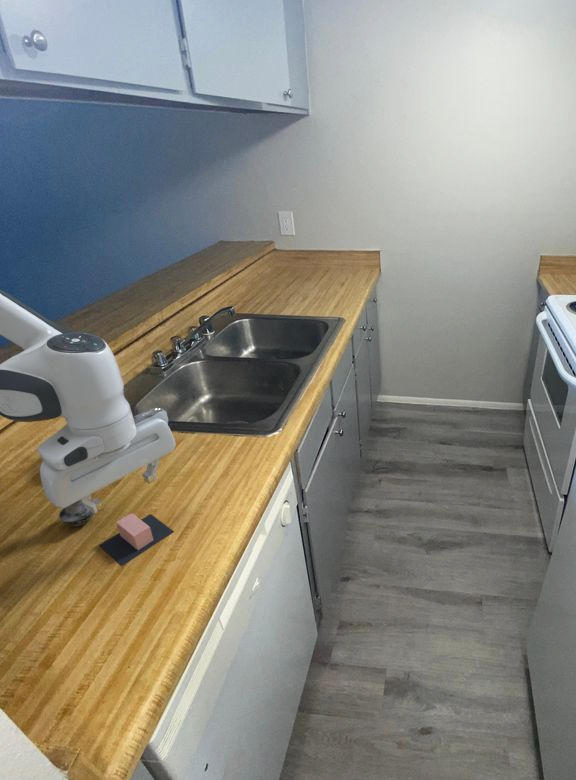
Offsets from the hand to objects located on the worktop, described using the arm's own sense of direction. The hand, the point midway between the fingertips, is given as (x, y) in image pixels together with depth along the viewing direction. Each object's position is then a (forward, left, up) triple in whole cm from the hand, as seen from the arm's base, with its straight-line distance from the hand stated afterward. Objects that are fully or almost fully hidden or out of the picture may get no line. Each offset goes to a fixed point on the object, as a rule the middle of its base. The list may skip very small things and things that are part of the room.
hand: (125, 494), depth 83 cm
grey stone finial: (-4, +12, -11) cm, 17 cm away
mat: (0, 0, -11) cm, 11 cm away
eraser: (0, 0, -10) cm, 10 cm away
